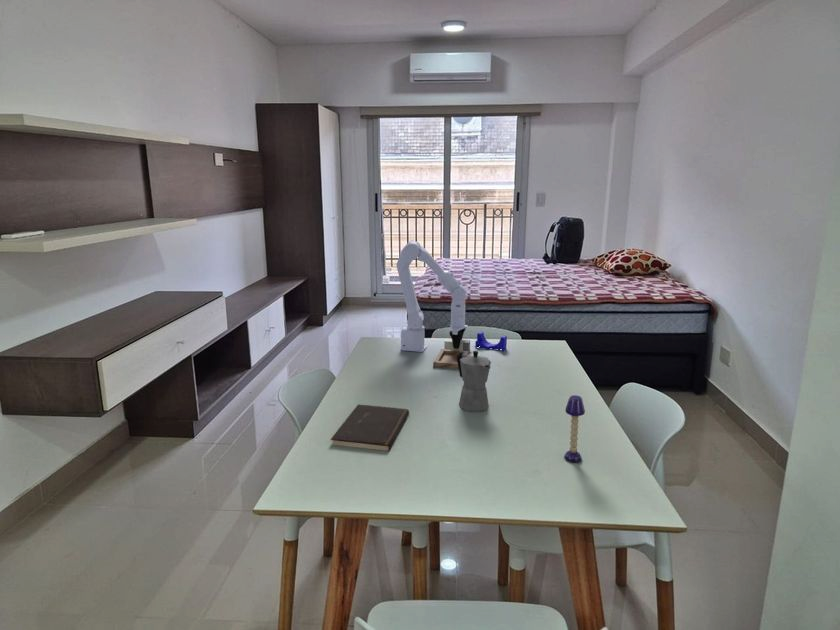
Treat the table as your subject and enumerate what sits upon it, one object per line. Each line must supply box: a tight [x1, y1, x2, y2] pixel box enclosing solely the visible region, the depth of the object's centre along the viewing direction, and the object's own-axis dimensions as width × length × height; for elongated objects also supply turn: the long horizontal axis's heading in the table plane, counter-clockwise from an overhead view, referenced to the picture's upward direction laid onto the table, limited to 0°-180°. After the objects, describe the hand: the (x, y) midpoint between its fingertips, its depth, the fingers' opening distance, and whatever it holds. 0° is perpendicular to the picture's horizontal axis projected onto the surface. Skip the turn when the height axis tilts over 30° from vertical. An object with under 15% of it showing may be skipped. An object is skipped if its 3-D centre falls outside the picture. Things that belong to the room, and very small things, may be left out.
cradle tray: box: [432, 348, 469, 370], centre depth 207 cm, size 11×16×2 cm
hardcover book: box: [330, 403, 410, 452], centre depth 151 cm, size 16×23×2 cm
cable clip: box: [474, 331, 508, 352], centre depth 223 cm, size 12×4×6 cm, turn 59°
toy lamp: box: [563, 394, 586, 464], centre depth 134 cm, size 5×5×17 cm
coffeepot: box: [457, 350, 492, 413], centre depth 166 cm, size 15×9×18 cm, turn 33°
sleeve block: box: [443, 338, 471, 353], centre depth 221 cm, size 10×4×4 cm, turn 77°
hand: (457, 346), depth 221 cm, fingers closed on sleeve block, 4 cm apart
